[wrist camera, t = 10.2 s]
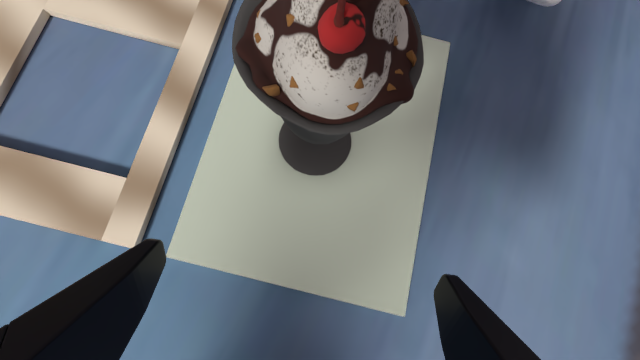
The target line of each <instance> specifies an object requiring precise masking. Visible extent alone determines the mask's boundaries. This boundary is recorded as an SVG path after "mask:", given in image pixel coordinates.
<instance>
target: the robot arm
mask: <svg viewBox="0 0 640 360" xmlns="http://www.w3.org/2000/svg"><path fill="white" fill-rule="evenodd" d="M165 263H166V255H165V250H164V246H163V242H162V241H161V240H158V239H146V240H144V241H142V242H141V243H139V244H137V245H136V246H134V247H132V248H131V249H129V250H127V251H126V252H124V253H123V254H121V255H119V256H118V257H116V258H114V259H113V260H111V261H109V262H108V263H106V264H105V265H103V266H101V267H100V268H98V269H96V270H95V271H93V272H91V273H90V274H88V275H86V276H85V277H83V278H82V279H80V280H78V281H77V282H75V283H73V284H72V285H70V286H68V287H67V288H65V289H64V290H62V291H60V292H59V293H57V294H55V295H54V296H52V297H50V298H49V299H47V300H46V301H44V302H42V303H41V304H39V305H37V306H36V307H34V308H32V309H31V310H29V311H28V312H26V313H24V314H23V315H21V316H19V317H18V318H16V319H14V320H13V321H11V322H10V324H9V325H8V324H7V325H4V326H3V327H1V328H0V360H119V359H120V357H121V355H122V354H123V352H124V350H125V348H126V346H127V345H128V343H129V341H130V339H131V337H132V335H133V334H134V332H135V330H136V328H137V326H138V325H139V323H140V321H141V319H142V317H143V315H144V313H145V311H146V309H147V307H148V305H149V302H150V300H151V297H152V295H153V293H154V290H155V288H156V286H157V283H158V281H159V278H160V276H161V274H162V271H163V269H164V266H165ZM434 301H435V307H436V313H437V320H438V326H439V332H440V338H441V344H442V348H443V352H444V356H445V360H541V359H540V358H539V357H538V356H537V355H536V354H535V353H534V352H533V351H532V350H531V349H530V348H529V347H528V346H527V345H526V344H525V343H524V342H523V341H522V340H521V339H520V338H519V337H518V336H517V335H516V334H515V333H514V332H513V331H512V330H511V329H510V328H509V327H508V326H507V325H506V324H505V323H504V322H503V321H502V320H501V319H500V318H499V317H498V316H497V315H496V314H495V313H494V312H493V311H492V310H491V309H490V308H489V307H488V306H487V305H486V304H485V303H484V302H483V301H482V300H481V299H480V298H479V297H478V296H477V295H476V294H475V293H474V292H473V291H472V290H471V289H470V288H469V287H468V286H467V285H466V284H465V283H464V282H463V281H462V280H461V279H460V278H459V277H458V276H456V275H450V274H444V275H442V277H441V279H440V280H439V282H438V284H437V286H436V288H435V290H434Z"/></svg>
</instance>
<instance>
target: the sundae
mask: <svg viewBox="0 0 640 360" xmlns="http://www.w3.org/2000/svg"><path fill="white" fill-rule="evenodd" d="M232 52H233V59H234V63H235V65H236V68H237V70H238V72H239V74H240V76H241V78H242V79H243V81H244V83H245V84H246V86H247V88H248V89H249V90H250V91H251V92H252V93H253V94H254V95H255V96H256V97H257V98H258V99H259V100H260V101H261V102H262V103H264V104H265V105H266V106H267V107H268V108H270V109H271V110H272V111H273V112H274V113H276V114H277V115H279V116H281V118H282V119H283V121H284V123H283V125H282V127H281V130H280V133H279V148H280V151H281V154H282V156H283V158H284V160H285V161H286V162H287V163H288V164H289V165H290V166H291V167H292V168H294V169H295V170H296V171H299V172H301V173H303V174H307V175H314V176H318V175H325V174H328V173H331V172H333V171H335V170H337V169H338V168H339V167H340V166H341V165H342V164H343V163H344V162H345V161H346V159H347V157H348V155H349V152H350V149H351V134H350V133H352V132H356V131H359V130H361V129H363V128H366V127H368V126H370V125H372V124H374V123H376V122H378V121H379V120H381V119H383V118H385V117H386V116H388V115H390V114H391V113H392V112H393V111H394V110H396V109H397V108H398V107H399V106H400V105H401V104H404V103H407V102H409V101H410V100H411V99H412V97H413V95H414V89H415V88H416V85H417V83H418V81H419V79H420V76H421V73H422V69H423V65H424V51H423V43H422V37H421V32H420V27H419V23H418V21H417V18H416V16H415V13H414V11H413V9H412V7H411V5H410V3H409V2H408V0H244V1H243V3H242V5H241V7H240V10H239V12H238V15H237V17H236V20H235V25H234V31H233V40H232Z"/></svg>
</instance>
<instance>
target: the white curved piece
mask: <svg viewBox="0 0 640 360" xmlns="http://www.w3.org/2000/svg"><path fill="white" fill-rule="evenodd" d="M527 1H530V2H532V3H535V4H538V5H541V6H554V5H556V4H558V3H559V2H560V1H562V0H527Z"/></svg>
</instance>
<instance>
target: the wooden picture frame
mask: <svg viewBox="0 0 640 360" xmlns="http://www.w3.org/2000/svg"><path fill="white" fill-rule="evenodd" d="M232 1H233V0H0V107H1V105H2V103H3V101H4V99H5V98H6V96H7V94H8V92H9V90H10V88H11V86H12V85H13V83H14V81H15V79H16V77H17V75H18V74H19V72H20V70H21V68H22V66H23V64H24V63H25V61H26V59H27V57H28V55H29V53H30V52H31V50H32V48H33V46H34V44H35V42H36V41H37V39H38V37H39V35H40V33H41V31H42V30H43V28H44V26H45V24H46V22H47V20H48V19H49V17H50V15H51V16H54V17H58V18H62V19H66V20H70V21H73V22H77V23H81V24H85V25H89V26H93V27H96V28H100V29H104V30H108V31H112V32H115V33H119V34H123V35H127V36H131V37H135V38H138V39H142V40H146V41H150V42H154V43H157V44H161V45H165V46H169V47H173V48H177V49H179V52H178V54H177V57H176V59H175V62H174V64H173V66H172V69H171V71H170V74H169V76H168V79H167V81H166V84H165V86H164V88H163V91H162V93H161V96H160V98H159V101H158V103H157V105H156V108H155V110H154V113H153V115H152V118H151V120H150V122H149V125H148V127H147V130H146V132H145V135H144V137H143V140H142V142H141V144H140V147H139V149H138V152H137V154H136V157H135V159H134V161H133V164H132V166H131V169H130V171H129V174H128V176H127V178H125V177H121V176H117V175H113V174H109V173H105V172H101V171H97V170H93V169H89V168H85V167H82V166H78V165H74V164H70V163H66V162H62V161H58V160H54V159H50V158H46V157H42V156H38V155H34V154H31V153H27V152H23V151H19V150H15V149H11V148H7V147H3V146H0V215H1V216H5V217H9V218H13V219H17V220H21V221H25V222H29V223H33V224H37V225H41V226H45V227H49V228H53V229H57V230H61V231H65V232H69V233H73V234H77V235H81V236H85V237H89V238H93V239H97V240H101V241H105V242H109V243H113V244H117V245H121V246H125V247H128V248H132V247H134V246H136V245H137V244H139V243H141V241H142V239H143V236H144V233H145V231H146V228H147V225H148V223H149V220H150V218H151V215H152V212H153V210H154V207H155V204H156V202H157V199H158V196H159V194H160V191H161V189H162V186H163V183H164V181H165V178H166V175H167V173H168V170H169V168H170V165H171V162H172V160H173V157H174V154H175V152H176V149H177V146H178V144H179V141H180V139H181V136H182V133H183V131H184V128H185V125H186V123H187V120H188V117H189V115H190V112H191V110H192V107H193V104H194V102H195V99H196V96H197V94H198V91H199V88H200V86H201V83H202V81H203V78H204V75H205V73H206V70H207V67H208V65H209V62H210V59H211V57H212V54H213V52H214V49H215V46H216V44H217V41H218V38H219V36H220V33H221V30H222V28H223V25H224V23H225V20H226V17H227V15H228V12H229V9H230V7H231V4H232Z"/></svg>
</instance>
